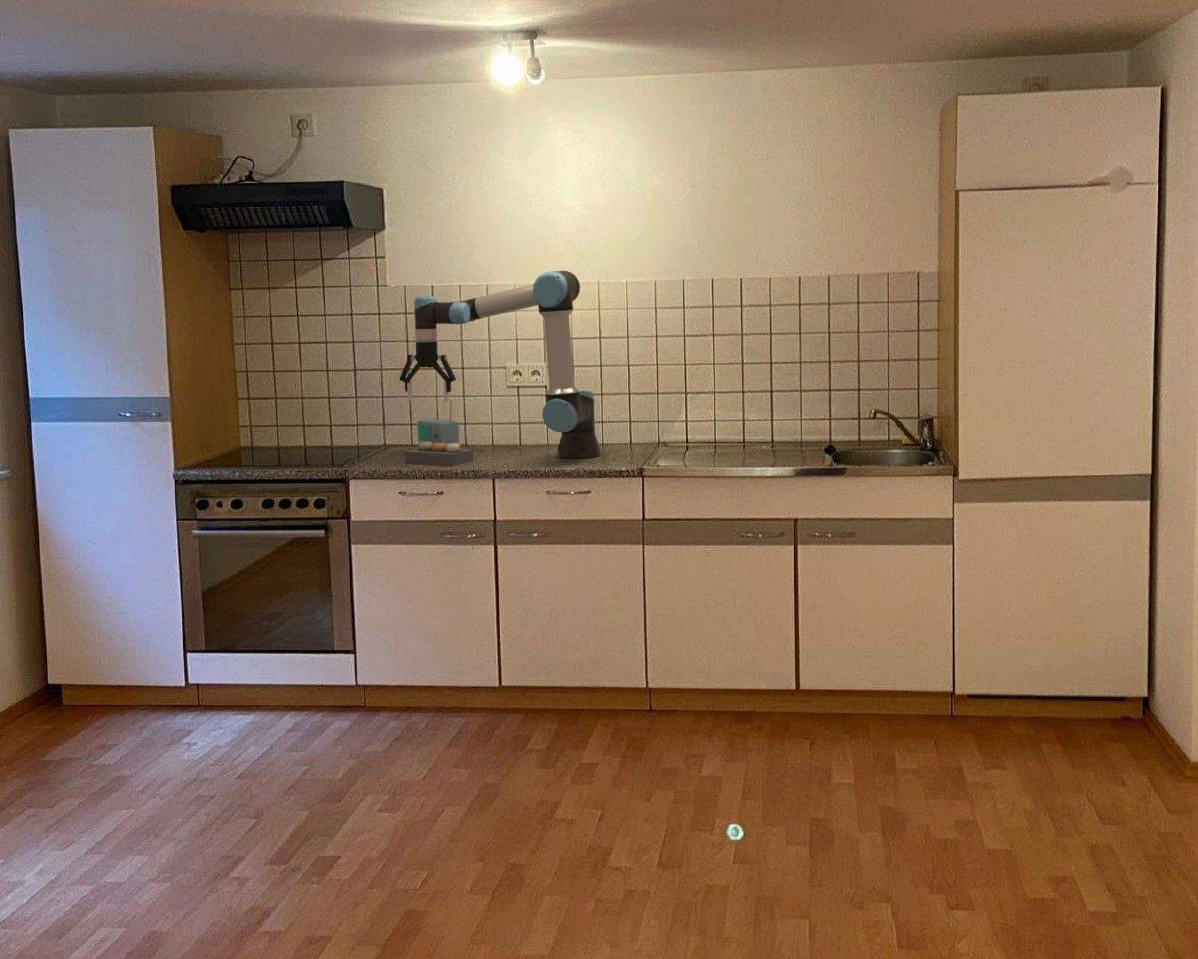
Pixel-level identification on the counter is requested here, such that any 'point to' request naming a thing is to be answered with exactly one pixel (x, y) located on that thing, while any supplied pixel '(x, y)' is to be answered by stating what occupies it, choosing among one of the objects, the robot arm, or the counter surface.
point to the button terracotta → (439, 446)
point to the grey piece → (439, 457)
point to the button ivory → (453, 447)
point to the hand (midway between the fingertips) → (428, 401)
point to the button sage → (425, 446)
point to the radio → (438, 430)
